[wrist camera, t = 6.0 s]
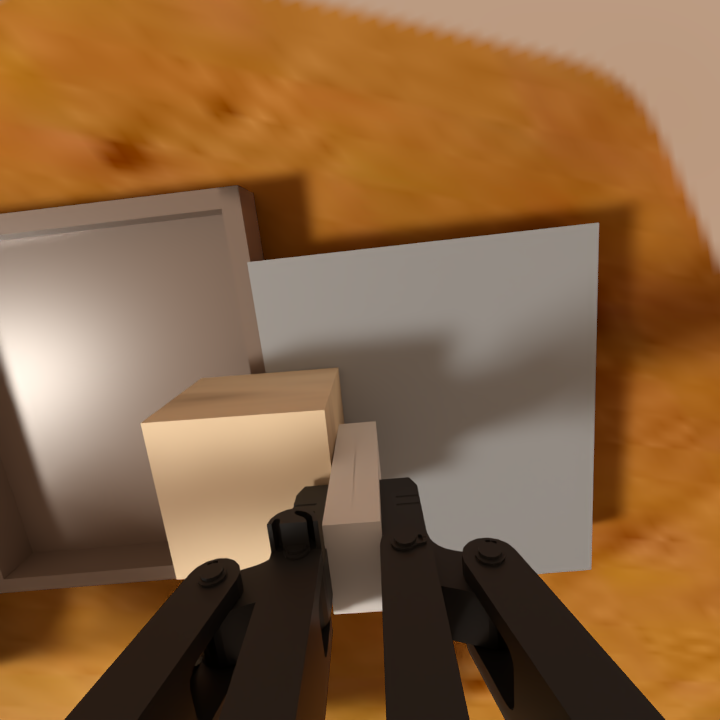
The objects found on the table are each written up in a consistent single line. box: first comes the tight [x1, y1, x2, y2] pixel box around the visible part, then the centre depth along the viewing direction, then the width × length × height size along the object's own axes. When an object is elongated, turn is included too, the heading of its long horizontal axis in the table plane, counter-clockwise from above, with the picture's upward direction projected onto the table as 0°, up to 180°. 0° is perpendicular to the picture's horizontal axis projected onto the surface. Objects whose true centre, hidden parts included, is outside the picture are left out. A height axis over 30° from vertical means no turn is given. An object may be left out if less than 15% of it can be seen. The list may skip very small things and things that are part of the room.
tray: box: [0, 185, 266, 593], centre depth 21 cm, size 18×16×2 cm
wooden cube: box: [141, 368, 344, 580], centre depth 17 cm, size 6×6×5 cm
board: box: [247, 223, 599, 574], centre depth 21 cm, size 16×14×3 cm
